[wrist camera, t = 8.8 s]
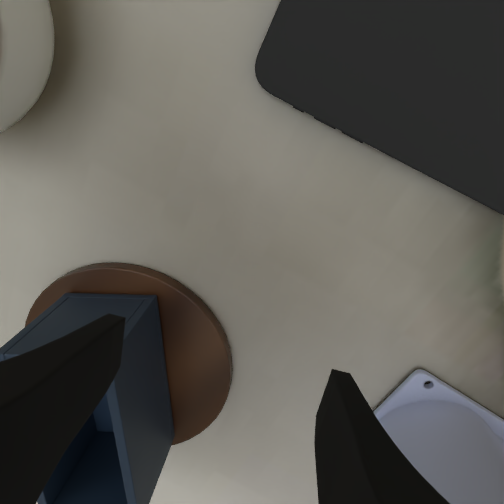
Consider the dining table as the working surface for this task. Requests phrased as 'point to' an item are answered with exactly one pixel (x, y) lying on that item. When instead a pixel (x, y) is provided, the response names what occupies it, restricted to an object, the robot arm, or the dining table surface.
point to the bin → (111, 404)
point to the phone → (400, 81)
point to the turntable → (166, 337)
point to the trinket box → (23, 56)
